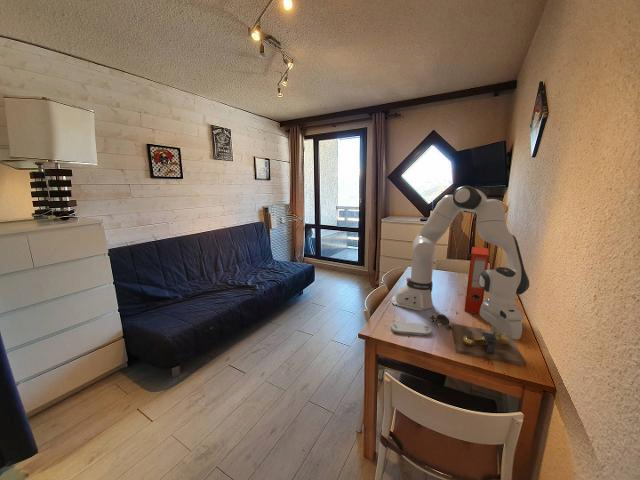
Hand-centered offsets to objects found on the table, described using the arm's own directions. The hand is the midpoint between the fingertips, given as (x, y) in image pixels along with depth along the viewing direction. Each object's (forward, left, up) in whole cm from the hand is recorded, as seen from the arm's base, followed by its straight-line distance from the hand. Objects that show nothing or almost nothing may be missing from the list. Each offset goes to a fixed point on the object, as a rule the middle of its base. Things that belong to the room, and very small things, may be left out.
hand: (496, 336), depth 113 cm
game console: (-35, -3, -3) cm, 35 cm away
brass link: (-5, -5, -1) cm, 7 cm away
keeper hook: (-5, -9, -1) cm, 10 cm away
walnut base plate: (-5, -3, -3) cm, 7 cm away
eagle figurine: (-21, +6, -3) cm, 22 cm away
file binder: (-4, +36, -3) cm, 36 cm away
